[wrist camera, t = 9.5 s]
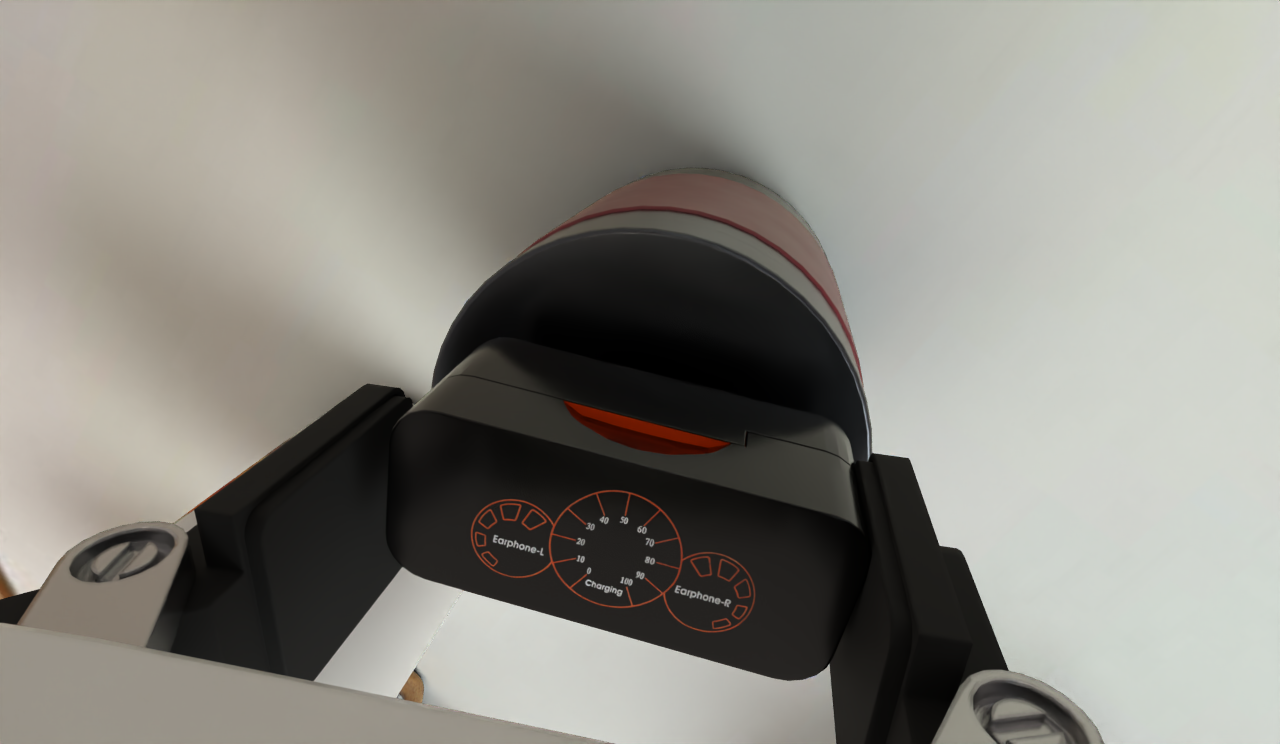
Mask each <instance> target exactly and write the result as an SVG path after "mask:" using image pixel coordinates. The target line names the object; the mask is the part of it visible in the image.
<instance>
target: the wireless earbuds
mask: <svg viewBox="0 0 1280 744" xmlns="http://www.w3.org/2000/svg"><path fill="white" fill-rule="evenodd" d="M385 533H386V541H387V546H388V548H389V550H390V552H391V554H392V556H393V557H394V558H395V559H396V561H397V562H398V563H399V564H400V565H401V566H402V567H403V568H405V569H406V570H407V571H409V572H410V573H412V574H413V575H416V576H418V577H421V578H423V579H426V580H429V581H433V582H436V583H440V584H443V585H447V586H450V587H454V588H457V589H461V590H464V591H468V592H471V593H475V594H478V595H482V596H485V597H489V598H492V599H496V600H499V601H503V602H507V603H510V604H514V605H517V606H521V607H524V608H528V609H531V610H535V611H538V612H542V613H545V614H549V615H552V616H556V617H559V618H563V619H566V620H570V621H573V622H577V623H580V624H584V625H588V626H591V627H595V628H598V629H602V630H605V631H609V632H612V633H616V634H619V635H623V636H626V637H630V638H633V639H637V640H640V641H644V642H647V643H651V644H654V645H658V646H661V647H665V648H669V649H672V650H676V651H679V652H683V653H686V654H690V655H693V656H697V657H700V658H704V659H707V660H711V661H714V662H718V663H721V664H725V665H728V666H732V667H735V668H739V669H742V670H746V671H750V672H753V673H757V674H760V675H764V676H767V677H771V678H775V679H781V680H787V681H792V680H803V679H806V678H809V677H812V676H815V675H817V674H818V673H820V672H821V671H823V670H824V669H825V668H827V666H828V665H829V663H830V662H831V660H832V659H833V657H834V655H835V652H836V650H837V648H838V645H839V643H840V640H841V638H842V636H843V633H844V631H845V628H846V626H847V624H848V621H849V619H850V616H851V614H852V612H853V609H854V607H855V605H856V602H857V600H858V597H859V595H860V593H861V590H862V588H863V585H864V583H865V581H866V578H867V574H868V570H869V566H870V562H871V558H872V550H871V545H870V540H869V535H868V530H867V525H866V520H865V515H864V510H863V505H862V500H861V495H860V490H859V485H858V480H857V475H856V470H855V465H854V460H853V455H852V450H851V445H850V441H849V439H848V437H847V436H846V434H845V432H844V431H843V429H842V428H841V427H840V426H839V425H838V424H837V423H836V422H835V421H833V420H832V419H830V418H827V417H825V416H822V415H820V414H816V413H812V412H808V411H804V410H800V409H796V408H792V407H788V406H784V405H780V404H776V403H772V402H768V401H764V400H760V399H756V398H752V397H748V396H744V395H740V394H736V393H732V392H728V391H724V390H720V389H716V388H712V387H708V386H704V385H700V384H696V383H692V382H688V381H684V380H680V379H676V378H672V377H668V376H664V375H660V374H656V373H652V372H648V371H644V370H640V369H636V368H632V367H628V366H624V365H620V364H616V363H612V362H608V361H604V360H600V359H596V358H592V357H588V356H584V355H580V354H576V353H572V352H568V351H564V350H560V349H556V348H552V347H548V346H544V345H540V344H536V343H532V342H528V341H524V340H520V339H515V338H509V337H499V338H495V339H491V340H489V341H487V342H485V343H483V344H482V345H480V346H479V347H477V348H476V349H475V350H474V351H473V352H472V353H471V354H470V355H469V356H467V357H466V358H465V359H464V360H463V361H462V362H461V363H460V364H459V365H458V366H457V367H455V368H454V369H453V370H452V371H451V372H450V373H449V374H448V375H447V376H446V377H445V378H443V379H442V380H441V381H440V382H439V383H438V384H437V385H436V386H435V387H434V388H433V389H431V390H430V391H429V392H428V393H427V394H426V395H425V396H424V397H423V398H422V399H421V400H419V401H418V402H417V403H416V404H415V405H414V406H413V407H412V408H411V409H410V410H409V411H407V412H406V413H405V414H404V415H403V416H402V417H401V418H400V419H399V420H398V422H397V423H396V424H395V426H394V427H393V429H392V432H391V437H390V441H389V462H388V485H387V508H386V531H385Z"/></svg>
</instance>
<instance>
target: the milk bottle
mask: <svg viewBox="0 0 1280 744" xmlns="http://www.w3.org/2000/svg"><path fill="white" fill-rule="evenodd" d="M413 405H415V404H414V403H413ZM322 416H323V415H322ZM319 418H320V417H319ZM319 418H318V419H319ZM316 420H317V419H316ZM316 420H315V421H316ZM315 421H313V422H315ZM313 422H312V423H313ZM312 423H310V424H312ZM310 424H309V425H310ZM309 425H307V426H306V427H308V426H309ZM306 427H304V428H303V429H302V430H304V429H305V428H306ZM302 430H300V431H299V432H301V431H302ZM299 432H297V433H296V434H295V435H297V434H298V433H299ZM295 435H293V436H292V437H291V438H293V437H294V436H295ZM291 438H289V439H288V440H290V439H291ZM288 440H286V441H285V442H284V443H286V442H287V441H288ZM284 443H282V444H281V445H279V446H278V447H277V448H279V447H280V446H282V445H283V444H284ZM277 448H275V449H274V450H273V451H275V450H276V449H277ZM273 451H271V452H270V453H268V454H267V455H266V456H264V457H263V458H262V459H264V458H265V457H267V456H268V455H269V454H271V453H272V452H273ZM262 459H260V460H259V461H258V462H260V461H261V460H262ZM258 462H256V463H255V464H253V465H252V466H251V467H253V466H254V465H256V464H257V463H258ZM251 467H249V468H248V469H247V470H249V469H250V468H251ZM247 470H245V471H244V472H242V473H241V474H240V475H242V474H243V473H245V472H246V471H247ZM240 475H238V476H237V477H236V478H238V477H239V476H240ZM236 478H234V479H233V480H232V481H234V480H235V479H236ZM232 481H230V482H229V483H231V482H232ZM229 483H227V484H226V485H225V486H227V485H228V484H229ZM225 486H223V487H222V488H221V489H223V488H224V487H225ZM221 489H219V490H218V491H216V492H215V493H214V494H216V493H217V492H219V491H220V490H221ZM214 494H212V495H211V496H210V497H212V496H213V495H214ZM210 497H208V498H207V499H206V500H208V499H209V498H210ZM206 500H204V501H203V502H205V501H206ZM203 502H201V503H200V504H199V505H201V504H202V503H203ZM199 505H197V506H196V507H195V508H197V507H198V506H199ZM195 508H193V509H192V510H191V511H189V512H188V513H186V514H185V515H184V516H182V517H181V518H180V519H178V520H177V521H176V522H174V523H173V524H175V525H177V526H179V527H181V528H183V529H184V531H185V532H188V531H189V530H190V529H192V528H193V527H194V526H196V525H197V521H196V516H195V512H194V509H195ZM462 592H463V590H461V589H457V588H454V587H450V586H447V585H443V584H440V583H436V582H433V581H429V580H426V579H423V578H421V577H418V576H416V575H413V574H412V573H410V572H409V571H407V570H406V569H405V568H403V567H402V568H401V569H400V571H399V572H398V573H397V575H396V576H395V577H394V578H393V580H392V581H391V582H390V584H389V585H388V586H387V587H386V589H385V590H384V591H383V593H382V594H381V595H380V596H379V598H378V599H377V600H376V602H375V603H374V604H373V605H372V607H371V608H370V609H369V611H368V612H367V613H366V614H365V616H364V617H363V618H362V620H361V621H360V622H359V623H358V625H357V626H356V627H355V629H354V630H353V631H352V632H351V634H350V635H349V636H348V638H347V639H346V640H345V641H344V643H343V644H342V645H341V647H340V648H339V649H338V650H337V652H336V653H335V654H334V656H333V657H332V658H331V659H330V661H329V662H328V663H327V665H326V666H325V667H324V668H323V670H322V671H321V672H320V674H319V675H318V676H317V677H316V679H315V680H314V682H319V683H324V684H329V685H334V686H339V687H344V688H349V689H354V690H359V691H364V692H369V693H373V694H378V695H383V696H388V697H393V698H396V697H397V696H398V694H399V693H400V691H401V689H402V688H403V686H404V685H405V683H406V681H407V680H408V678H409V677H410V675H411V674H412V672H413V670H414V669H415V667H416V666H417V664H418V662H419V661H420V659H421V657H422V656H423V654H424V653H425V651H426V649H427V648H428V646H429V645H430V643H431V641H432V640H433V638H434V637H435V635H436V633H437V632H438V630H439V629H440V627H441V625H442V624H443V622H444V621H445V619H446V617H447V616H448V614H449V613H450V611H451V609H452V608H453V606H454V605H455V603H456V601H457V600H458V598H459V596H460V595H461V593H462Z"/></svg>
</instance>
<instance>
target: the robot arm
mask: <svg viewBox="0 0 1280 744" xmlns="http://www.w3.org/2000/svg"><path fill="white" fill-rule="evenodd" d="M413 406H414V405H413V402H412V400H411V399H410V398H408V397H405V394H404V392H403V391H402V390H401V389H400V388H395V387H387V386H380V385H373V384H366V385H364V386H363V387H361V388H360V389H358V390H357V391H356V392H354V393H353V394H352V395H350V396H349V397H347V398H346V399H345V400H343V401H342V402H341V403H339V404H338V405H336V406H335V407H334V408H332V409H331V410H330V411H328V412H327V413H325V414H324V415H323V416H321V417H320V418H319V419H317V420H316V421H315V422H313V423H312V424H310V425H309V426H308V427H306V428H305V429H304V430H302V431H301V432H299V433H298V434H297V435H295V436H294V437H293V438H291V439H290V440H288V441H287V442H286V443H284V444H283V445H282V446H280V447H279V448H277V449H276V450H275V451H273V452H272V453H271V454H269V455H268V456H267V457H265V458H264V459H262V460H261V461H260V462H258V463H257V464H256V465H254V466H253V467H251V468H250V469H249V470H247V471H246V472H245V473H243V474H242V475H240V476H239V477H238V478H236V479H235V480H234V481H232V482H231V483H229V484H228V485H227V486H225V487H224V488H223V489H221V490H220V491H219V492H217V493H216V494H214V495H213V496H212V497H210V498H209V499H208V500H206V501H205V502H203V503H202V504H201V505H199V506H198V507H197V508H195V509H194V512H195V516H196V521H197V525H196V526H194V527H193V528H192V529H190V530H189V531H188V532H185V531H184V529H183V528H181V527H179V526H177V525H175V524H173V523H166V522H160V521H153V522H138V523H133V524H127V525H122V526H119V527H115V528H112V529H109V530H106V531H103V532H100V533H98V534H96V535H94V536H92V537H90V538H88V539H86V540H84V541H82V542H80V543H79V544H77V545H76V546H74V547H73V548H72V549H70V550H69V551H67V552H66V553H65V555H64V556H63V557H62V558H61V559H60V560H59V561H58V562H57V564H56V565H55V567H54V568H53V570H52V571H51V573H50V574H49V576H48V577H47V579H46V580H45V582H44V584H43V585H42V587H41V588H40V589H38V590H34V591H31V592H27V593H23V594H19V595H16V596H12V597H8V598H4V599H1V600H0V744H614V743H609V742H604V741H599V740H595V739H590V738H585V737H581V736H576V735H571V734H567V733H562V732H557V731H552V730H548V729H543V728H538V727H533V726H528V725H524V724H519V723H514V722H509V721H504V720H499V719H495V718H490V717H485V716H480V715H475V714H470V713H466V712H461V711H456V710H451V709H446V708H442V707H437V706H432V705H427V704H422V703H417V702H412V701H407V700H403V699H398V698H393V697H388V696H383V695H378V694H373V693H369V692H364V691H359V690H354V689H349V688H344V687H339V686H334V685H329V684H324V683H319V682H314V680H315V679H316V677H317V676H318V675H319V674H320V672H321V671H322V670H323V668H324V667H325V666H326V665H327V663H328V662H329V661H330V659H331V658H332V657H333V656H334V654H335V653H336V652H337V650H338V649H339V648H340V647H341V645H342V644H343V643H344V641H345V640H346V639H347V638H348V636H349V635H350V634H351V632H352V631H353V630H354V629H355V627H356V626H357V625H358V623H359V622H360V621H361V620H362V618H363V617H364V616H365V614H366V613H367V612H368V611H369V609H370V608H371V607H372V605H373V604H374V603H375V602H376V600H377V599H378V598H379V596H380V595H381V594H382V593H383V591H384V590H385V589H386V587H387V586H388V585H389V584H390V582H391V581H392V580H393V578H394V577H395V576H396V575H397V573H398V572H399V571H400V569H401V568H402V566H401V565H400V564H399V563H398V562H397V561H396V559H395V558H394V557H393V556H392V554H391V552H390V550H389V548H388V546H387V541H386V533H385V531H386V508H387V485H388V462H389V441H390V437H391V432H392V429H393V427H394V426H395V424H396V423H397V422H398V420H399V419H400V418H401V417H402V416H403V415H404V414H405V413H406V412H407V411H409V410H410V409H411V408H412V407H413ZM855 470H856V475H857V480H858V485H859V490H860V495H861V500H862V505H863V510H864V515H865V520H866V525H867V530H868V535H869V540H870V545H871V550H872V558H871V562H870V566H869V570H868V574H867V578H866V581H865V583H864V585H863V588H862V590H861V593H860V595H859V597H858V600H857V602H856V605H855V607H854V609H853V612H852V614H851V616H850V619H849V621H848V624H847V626H846V628H845V631H844V633H843V636H842V638H841V640H840V643H839V645H838V648H837V650H836V652H835V655H834V657H833V659H832V660H831V662H830V674H831V686H832V697H833V709H834V721H835V733H836V744H1104V742H1103V740H1102V738H1101V736H1100V733H1099V731H1098V729H1097V727H1096V726H1095V725H1094V724H1093V722H1092V721H1091V720H1090V719H1089V717H1088V716H1087V715H1086V714H1085V712H1084V711H1083V710H1082V709H1081V708H1079V707H1078V706H1077V705H1076V704H1075V703H1074V702H1072V701H1071V700H1070V699H1069V698H1068V697H1066V696H1065V695H1064V694H1062V693H1061V692H1059V691H1057V690H1056V689H1054V688H1052V687H1051V686H1049V685H1047V684H1046V683H1044V682H1042V681H1039V680H1036V679H1034V678H1031V677H1029V676H1026V675H1024V674H1021V673H1016V672H1011V671H1009V670H1008V668H1007V665H1006V663H1005V660H1004V657H1003V655H1002V652H1001V650H1000V647H999V645H998V642H997V639H996V637H995V634H994V632H993V629H992V626H991V624H990V621H989V619H988V616H987V614H986V611H985V608H984V606H983V603H982V601H981V598H980V596H979V593H978V590H977V588H976V585H975V583H974V580H973V578H972V575H971V572H970V570H969V567H968V565H967V562H966V560H965V557H964V555H963V554H962V552H961V551H960V550H958V549H957V548H950V547H944V546H939V543H938V540H937V537H936V534H935V531H934V528H933V526H932V523H931V520H930V517H929V514H928V511H927V508H926V505H925V502H924V499H923V496H922V494H921V491H920V488H919V485H918V482H917V479H916V476H915V473H914V470H913V467H912V464H911V462H910V460H909V458H903V457H896V456H889V455H881V454H874V453H871V455H870V456H869V459H868V462H867V461H859V460H857V461H856V463H855Z"/></svg>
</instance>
